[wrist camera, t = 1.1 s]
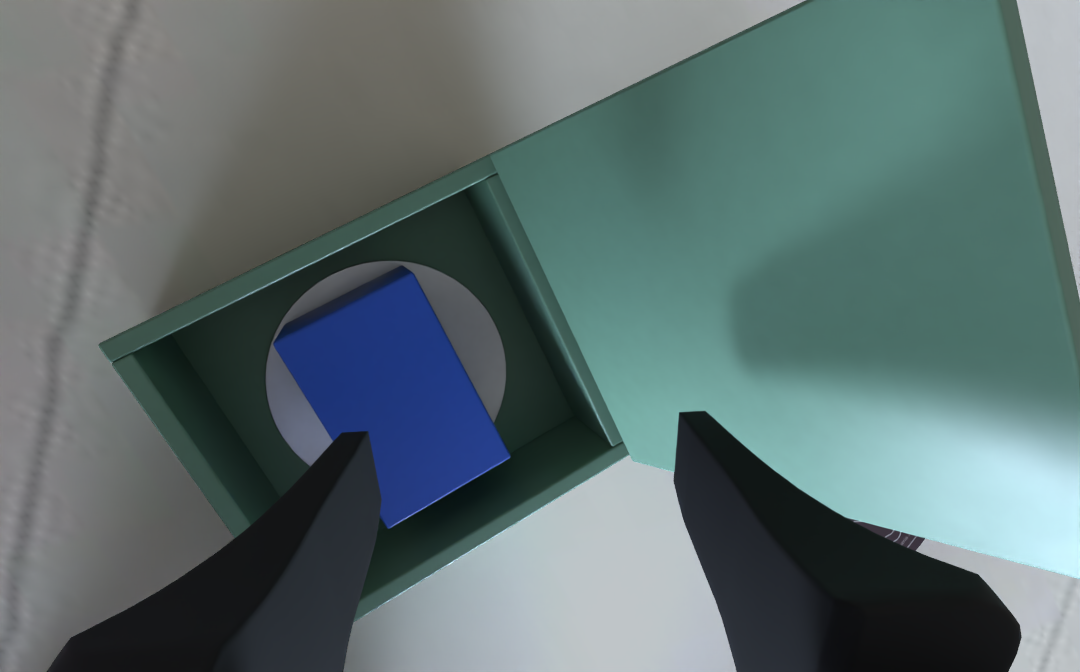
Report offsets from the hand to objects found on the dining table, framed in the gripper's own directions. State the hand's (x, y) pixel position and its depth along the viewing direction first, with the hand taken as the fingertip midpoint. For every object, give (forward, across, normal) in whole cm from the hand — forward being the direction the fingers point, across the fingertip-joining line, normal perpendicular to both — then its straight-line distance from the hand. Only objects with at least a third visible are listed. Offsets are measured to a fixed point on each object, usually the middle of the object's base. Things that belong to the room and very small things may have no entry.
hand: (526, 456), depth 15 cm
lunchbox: (+9, +5, +3) cm, 11 cm away
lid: (+1, -5, -3) cm, 6 cm away
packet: (+8, +5, +3) cm, 10 cm away
